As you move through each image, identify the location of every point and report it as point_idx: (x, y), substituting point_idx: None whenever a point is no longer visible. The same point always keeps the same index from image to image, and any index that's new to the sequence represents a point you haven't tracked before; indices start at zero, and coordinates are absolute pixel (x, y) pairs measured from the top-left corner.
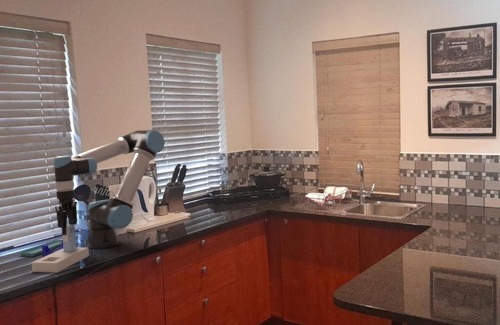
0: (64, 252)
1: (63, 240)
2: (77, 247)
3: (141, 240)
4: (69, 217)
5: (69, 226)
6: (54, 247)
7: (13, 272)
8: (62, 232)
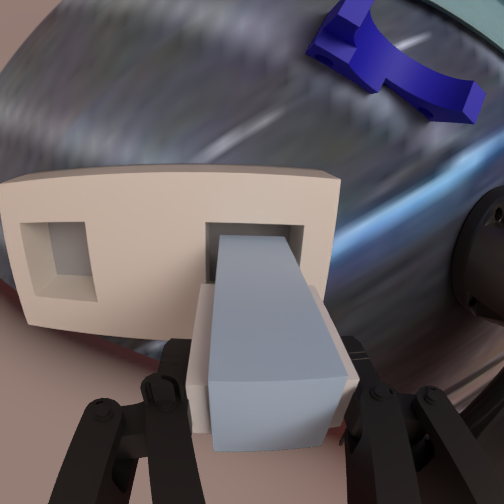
0: (196, 257)
1: (200, 294)
2: (326, 275)
3: (491, 355)
4: (365, 493)
5: (219, 450)
6: (467, 26)
7: (47, 51)
8: (162, 362)
